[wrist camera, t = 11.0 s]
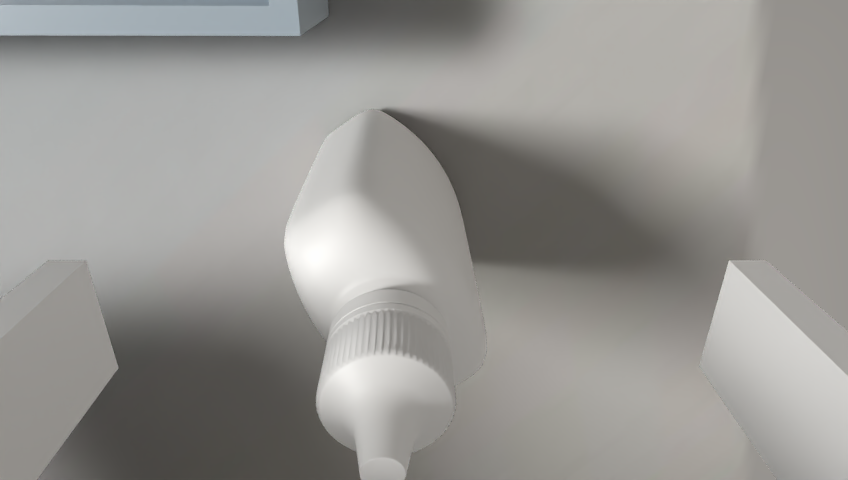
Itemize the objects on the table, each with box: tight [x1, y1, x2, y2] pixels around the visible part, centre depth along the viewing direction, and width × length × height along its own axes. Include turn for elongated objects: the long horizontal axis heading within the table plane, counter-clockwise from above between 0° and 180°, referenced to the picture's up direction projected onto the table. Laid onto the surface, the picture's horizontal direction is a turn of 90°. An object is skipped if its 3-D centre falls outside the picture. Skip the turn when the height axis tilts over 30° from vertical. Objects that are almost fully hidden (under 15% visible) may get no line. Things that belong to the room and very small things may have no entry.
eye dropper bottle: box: [284, 109, 487, 480], centre depth 14 cm, size 4×6×12 cm
